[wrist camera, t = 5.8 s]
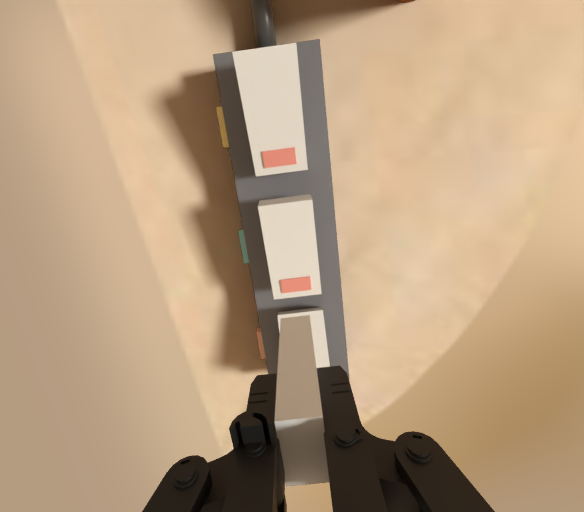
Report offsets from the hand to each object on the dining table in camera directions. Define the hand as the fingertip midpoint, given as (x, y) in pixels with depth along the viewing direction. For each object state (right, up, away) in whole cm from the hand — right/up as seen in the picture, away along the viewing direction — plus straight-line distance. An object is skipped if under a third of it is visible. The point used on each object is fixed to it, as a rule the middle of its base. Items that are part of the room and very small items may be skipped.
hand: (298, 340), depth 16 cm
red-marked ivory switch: (-2, +14, +6) cm, 16 cm away
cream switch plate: (0, +5, +9) cm, 10 cm away
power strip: (-1, +9, +14) cm, 16 cm away
